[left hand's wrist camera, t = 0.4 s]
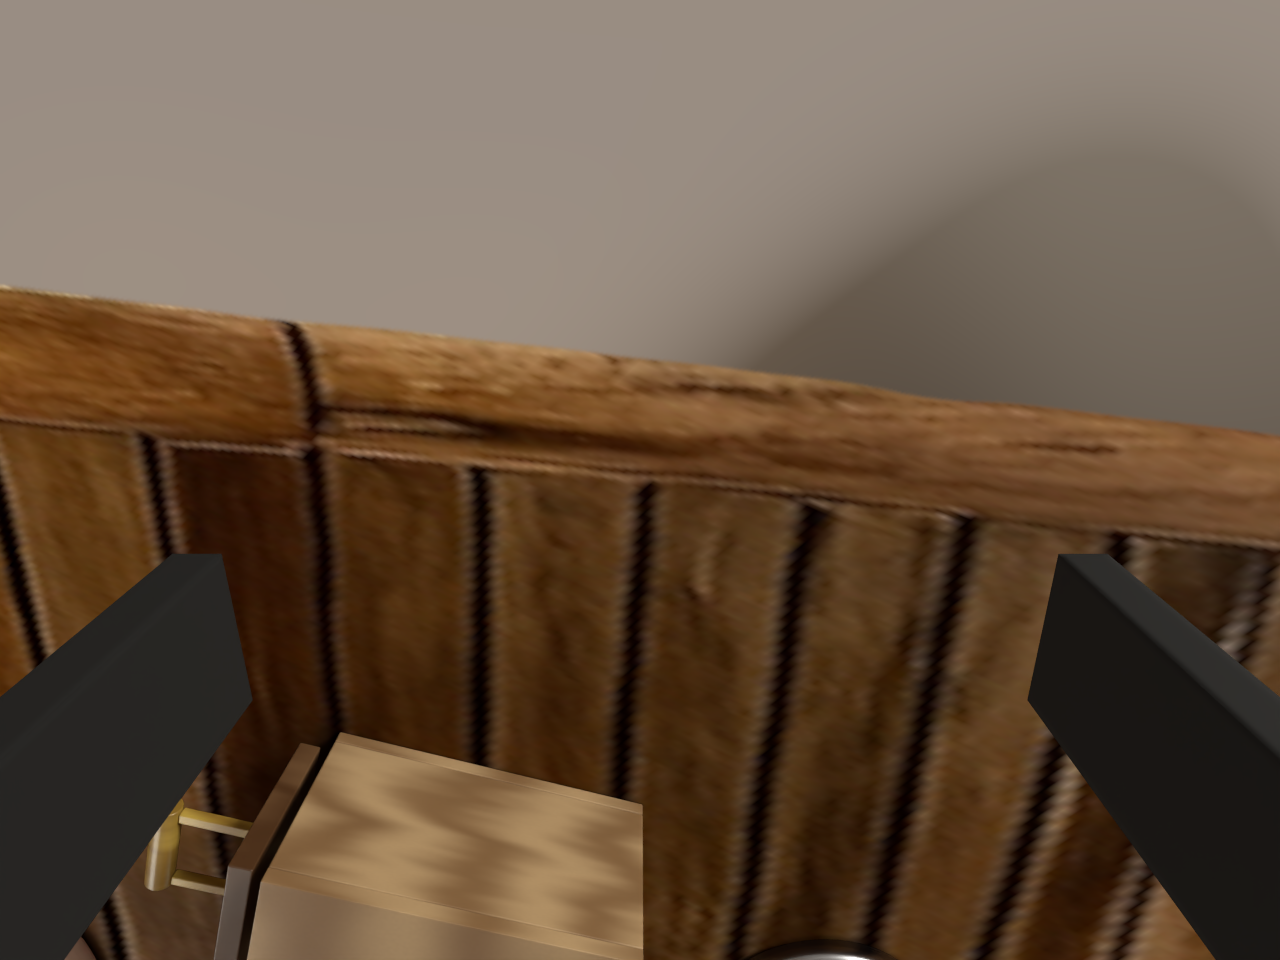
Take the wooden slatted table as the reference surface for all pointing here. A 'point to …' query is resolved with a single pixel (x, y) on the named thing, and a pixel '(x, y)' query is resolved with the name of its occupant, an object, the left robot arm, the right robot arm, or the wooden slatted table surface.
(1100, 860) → the wooden slatted table surface
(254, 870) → the drawer
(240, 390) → the wooden slatted table surface
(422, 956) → the cabinet
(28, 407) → the wooden slatted table surface
